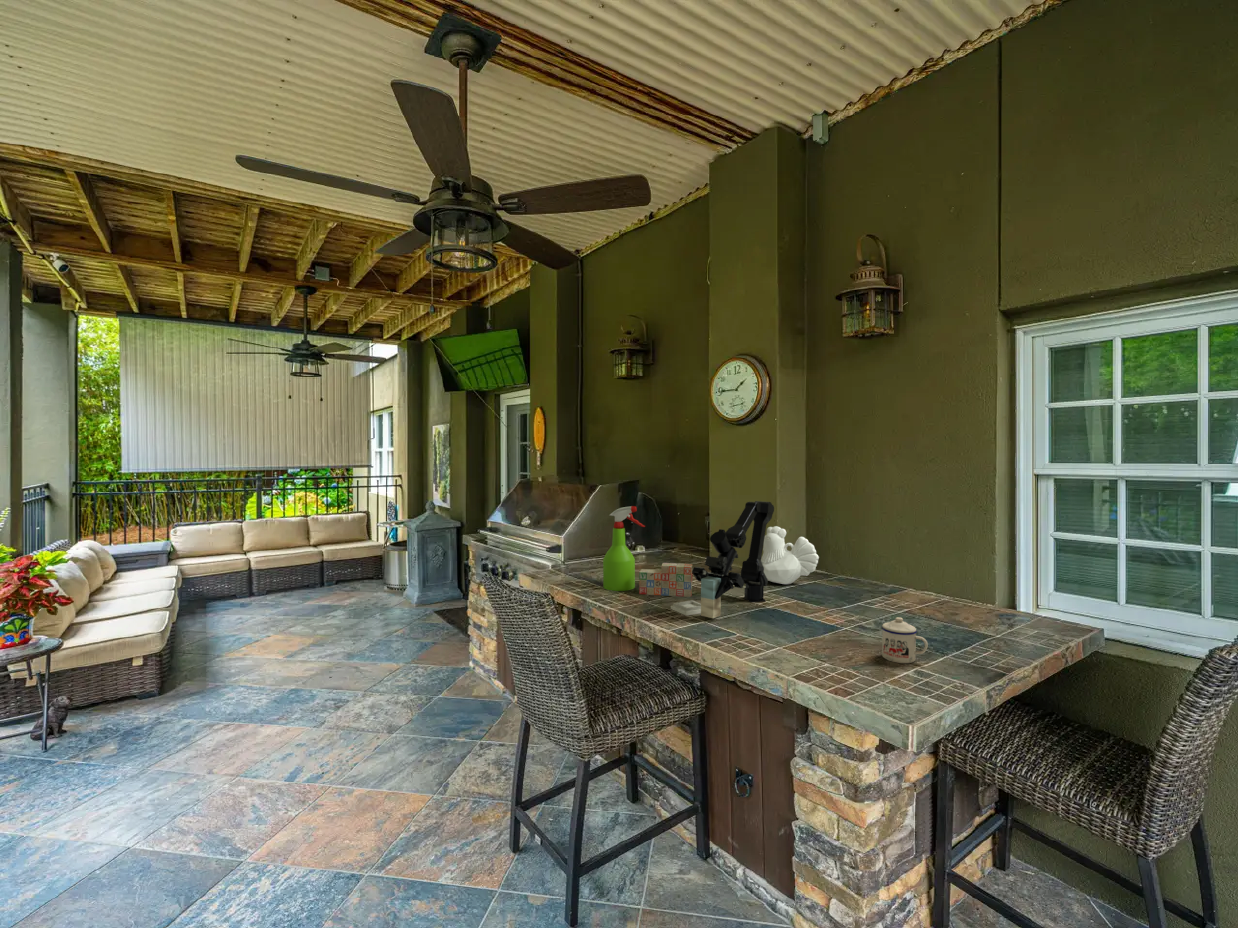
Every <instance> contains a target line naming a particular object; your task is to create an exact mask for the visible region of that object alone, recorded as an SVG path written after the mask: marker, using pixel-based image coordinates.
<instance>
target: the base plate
mask: <svg viewBox="0 0 1238 928" xmlns="http://www.w3.org/2000/svg"><path fill="white" fill-rule="evenodd" d="M670 610H673V611H675V612H677V613H680V614H681V615H684V616H692V615H697V614H701V602H698V601H695V600H693V599H692V600H691V599H690V600H686V601H680V602H679V601H678V602H673V604H672V605H670Z"/></svg>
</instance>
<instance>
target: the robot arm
mask: <svg viewBox="0 0 1238 928" xmlns="http://www.w3.org/2000/svg"><path fill="white" fill-rule="evenodd" d="M774 512H775V506H774V504H773V503H772V501H761V500H755V501H747V502H746V503H745V507H744V508H743V509H742V512H741V513H740V515H739V517H738V519H737V520H736V522H735V524H734V525H733V526H731V527H729V528H728V529H727V530H726V531H725V529H718V531H715V532H714V533H712V534H711V535H710V538H709V542H711V544H712V547H714V548H713V549H715V551H716V552H717V553H718V555H717V556H706V558H705V563H704V566H706V567H708V570H709V571H710V572H709V571H707V569H705V568H704V567H700V566H695V567H692V576H693V577H694V578H695V579H696V581H697V582H701V579H702V578H705V577H708V576H710V577H715V578H721V583H720V585H719V588H718V590H717V592H716V595H715V599H718V598H719V597H720V596H721V597H722V596H723V595H724V594H725V593H726V592H728V591H730V590H732V589H734V588H738V589H743V588H744V595H743V599H745V600H746V601H747V602H750V603H754V602H766V599H765V598H764V597H765V596H764V594H765V593H764V592H765V589H764V587H767V585H768V579H767V577H766V575H765V574H764V567H763V564H762V562H761V558H762V556H763V547H764V545H763V544H764V537H765V535H766V532H767V524H769V523H770V521H771V520H772V519H773V514H774ZM752 523H753V528H752V533H751V539H750V540H751V541H750V547H749V552H748V557H747V558H746V560H743V562H742V564H741V565H742V567H741V569H740V573H739V572H733V567H732V565H733V563H734V560H735V559H739V553H738V551H737V550H736V549H742V548H743V547H744V545H745V544H746V541H747V532H748V530H749V528H750V526H751V525H752ZM744 585H745V587H744Z"/></svg>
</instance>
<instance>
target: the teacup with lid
mask: <svg viewBox="0 0 1238 928" xmlns="http://www.w3.org/2000/svg"><path fill="white" fill-rule="evenodd" d="M881 629H882V636H881V637H882V643H881V644H882V645H881V649H882V650H881V656H882V657H883V658H884V659H885V660H886V661H889V662H892V663H898V664H910V663H914V662H915V661H916V655H922V654H925V652H926V651H927V649H928V646H929V643H928V640H926V638H924V637H923V636H919V635H917V633H918V632H917V631H918V630H917V629H916V627H915V626H913V625H911V624H910V623H908V622H906V621H904V619H903V618H902V617H901V616H900V617H895V619H894V620H891V621H888V622H884V623H883V624H882V625H881ZM916 640H920V641H922V642H923V644H924V648H923V649H922V650H916V648H917V647H916V644H917V643H916Z"/></svg>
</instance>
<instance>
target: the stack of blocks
mask: <svg viewBox="0 0 1238 928" xmlns="http://www.w3.org/2000/svg"><path fill="white" fill-rule="evenodd" d="M692 570H693V564H692V563H691V564H689V563H680V562H678V563H674V562H670V563H669V562H662V564H661V567H660V569H645V568H641V569H640V571H639V576H638V579H639V581H638V582H639V584H638V588H639V589H638V590H639V591H638V592H639V593H638V594H639V595H648V596H649V595H650V596H653V595H654V596H665V597H666V596H669V597H685V598H686V597H688V598H691V597H692V595H693V574H692Z"/></svg>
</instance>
